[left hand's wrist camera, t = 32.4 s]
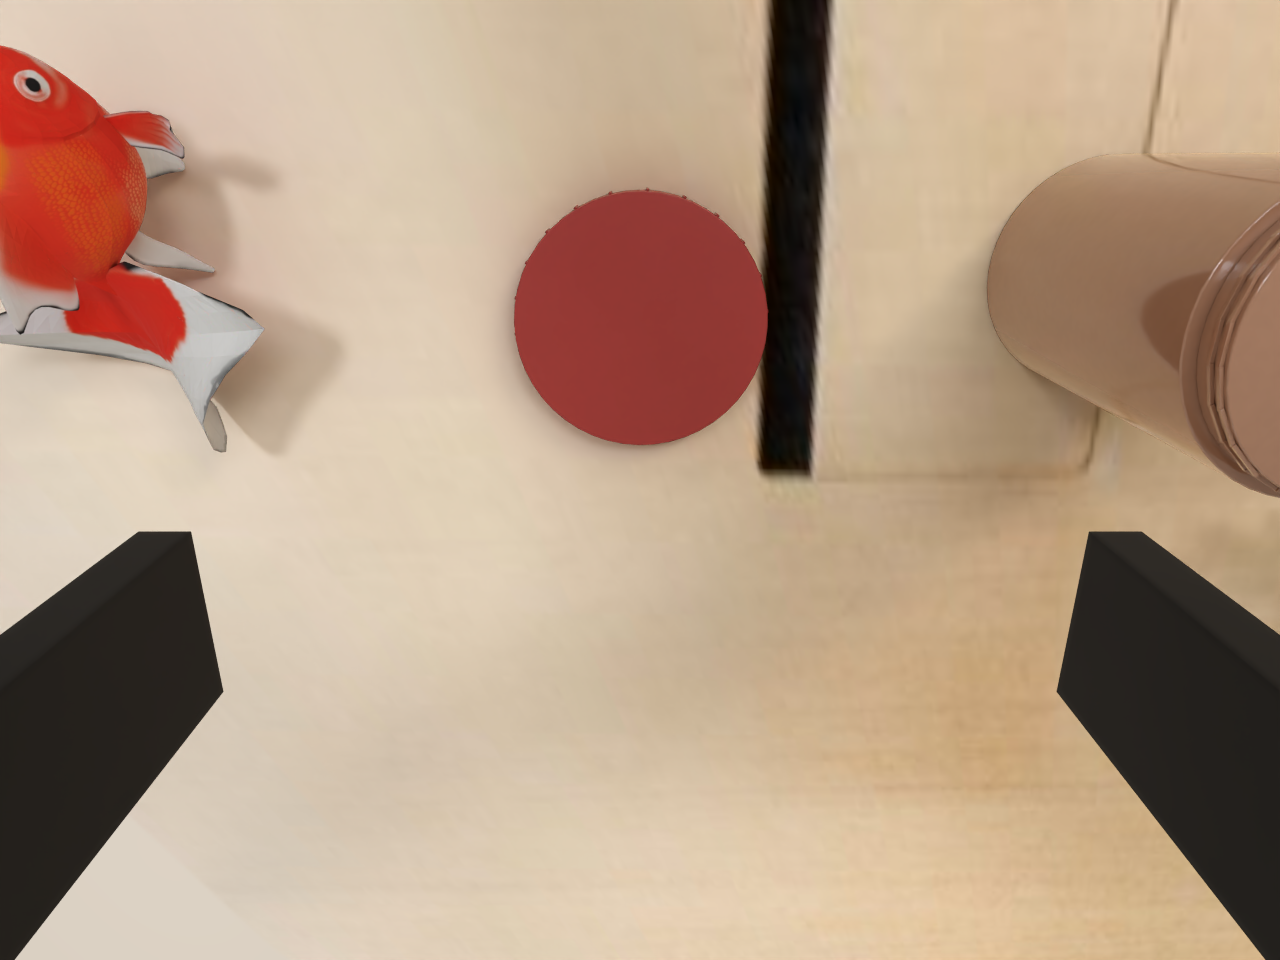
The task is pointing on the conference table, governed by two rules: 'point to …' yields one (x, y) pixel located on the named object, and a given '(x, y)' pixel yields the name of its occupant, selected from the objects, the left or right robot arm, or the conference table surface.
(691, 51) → the conference table surface
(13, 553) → the conference table surface
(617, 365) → the lid
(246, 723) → the conference table surface
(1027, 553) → the conference table surface
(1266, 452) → the jar
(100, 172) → the fish
